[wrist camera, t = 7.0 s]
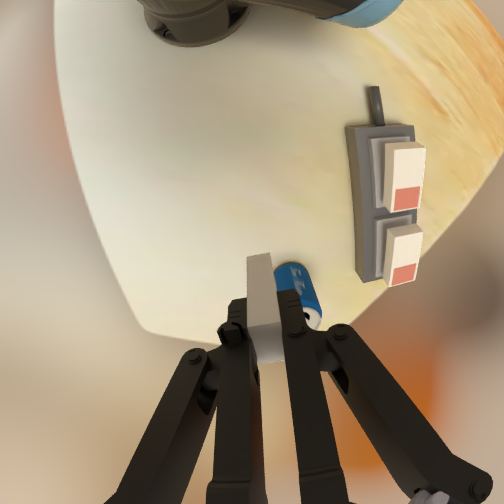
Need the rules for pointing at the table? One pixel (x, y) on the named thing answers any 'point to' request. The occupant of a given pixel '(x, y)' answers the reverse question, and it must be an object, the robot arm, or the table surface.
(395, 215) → the power strip
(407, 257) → the rocker
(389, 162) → the rocker
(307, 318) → the beverage can
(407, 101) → the table surface
